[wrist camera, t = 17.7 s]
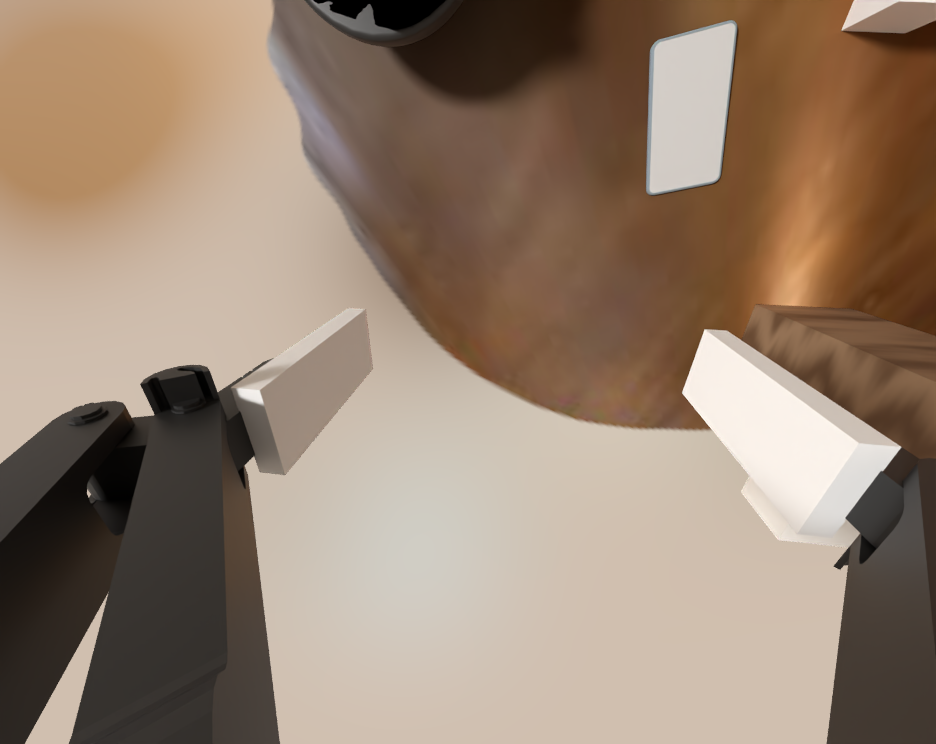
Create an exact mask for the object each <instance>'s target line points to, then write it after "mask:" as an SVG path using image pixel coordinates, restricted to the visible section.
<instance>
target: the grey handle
mask: <svg viewBox="0 0 936 744" xmlns="http://www.w3.org/2000/svg"><path fill="white" fill-rule="evenodd" d="M741 493H742V494H743V495H744V497H745V498H746V499H747V500H748V502H749V503H750V504H751V506H752V507H753V508H754V509H755V511H756V512H757V513H758V515H759V516H760V517H761V518H762V519H763V521H764V522H765V524H766V525H767V526H768V527H769V529H770V530H771V531H772V533H773V534H774V535H775V536H776V538H777V539H778V540H783V541H792V542H801V543H811V544H820V545H830V546H839V547H848V548H849V546H850V545H851V544H852V543H853V541H854V540H855V539H856V538H857V537H858V535H859V534H860V532H859V531H858V530H857V529H856V528H855V527H854V526H853V525H852V524H851V523H850V522H849V521H848V520H847V519H846V520H845V522H844V523H843V524H842V526H841V527H840V528H839V530H838V531H837V532H836V534H835V535H834V536H833V538H826V537H818V536H809V535H800V534H796V532H795V531H794V530H793V529H792V527H791V526H790V525H789V524H788V523H787V521H786V520H785V519H784V518H783V516H782V515H781V514H780V513H779V511H778V510H777V509H776V508H775V507H774V505H773V504H772V503H771V502H770V500H769V499H768V498H767V497H766V495H765V494H764V493H763V492H762V491H761V489H760V488H759V487H758V486H757V484H756V483H755V482H754V481H753V480H752V478H751V477H750V476H749V477H748V479H747V481H746V483H745V485H744V487H743V489H742V491H741Z"/></svg>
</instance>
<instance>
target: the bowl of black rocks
mask: <svg viewBox="0 0 936 744" xmlns="http://www.w3.org/2000/svg"><path fill="white" fill-rule="evenodd" d="M305 1H306V3H307V4H308V5H309V6H310V7H311V8H312V9H313V10H314V11H315V12H316V13H317V14H318V15H319V16H320V17H321V18H323V19H324V20H325V21H326V22H327V23H329V24H330V25H332V26H333V27H334V28H336V29H337V30H339V31H341V32H342V33H344V34H346V35H348V36H349V37H352V38H354V39H356V40H359V41H361V42H364V43H367V44H371V45H376V46H383V47H396V46H404V45H408V44H412V43H415V42H417V41H420V40H422V39H424V38H426V37H428V36H430V35H431V34H432V33H434V32H435V31H437V30H438V29H439V28H440V27H442V26H443V25H444V24H445V23H446V22H447V21H448V20H449V19H450V18H451V17H452V15H453V14H454V13H455V12H456V10H457V9H458V8H459V6H460V5H461V4H462V2H463V0H305Z"/></svg>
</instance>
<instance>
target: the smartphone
mask: <svg viewBox="0 0 936 744" xmlns="http://www.w3.org/2000/svg"><path fill="white" fill-rule="evenodd" d="M736 36H737V24H736V22H735V21H733V20H729V21H726V22H722V23H718V24H715V25H711V26H707V27H704V28H700V29H696V30H693V31H689V32H685V33H682V34H678V35H674V36H671V37H667V38H664V39H660V40H658V41H656V42H655V43H654V44H653V46H652V48H651V50H650V68H649V101H648V135H647V171H646V192H647V193H648V194H649V195H658V194H663V193H669V192H674V191H679V190H684V189H689V188H694V187H699V186H704V185H709V184H713V183H715V182H717V181H718V180H719V178H720V176H721V169H722V160H723V152H724V143H725V134H726V125H727V116H728V107H729V98H730V89H731V81H732V72H733V63H734V54H735V45H736Z"/></svg>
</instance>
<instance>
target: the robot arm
mask: <svg viewBox="0 0 936 744" xmlns="http://www.w3.org/2000/svg"><path fill="white" fill-rule="evenodd" d="M366 316H367V315H366V309H356V308H347V309H346V310H344V311H343V312H341V313H340V314H338V315H337V316H335V317H334V318H332V319H331V320H330V321H328V322H327V323H325V324H324V325H322V326H321V327H319V328H318V329H316V330H315V331H313V332H312V333H310V334H309V335H307V336H306V337H304V338H303V339H302V340H300V341H299V342H297V343H296V344H294V345H293V346H291V347H290V348H288V349H287V350H285V351H284V352H282V353H281V354H279V355H278V356H277V357H275V358H273V359H270V360H267V361H265V362H263V363H261V364H260V365H258V366H257V367H255V368H254V369H253V371H249V372H248V373H246V374H245V375H244V376H243V377H240V378H239V379H237V380H236V381H234V382H233V383H232V384H230V385H228V386H227V387H226V388H224V389H222V390H221V391H219V392H217V390H216V387H215V384H214V381H213V379H212V376H211V373H210V371H209V369H208V368H207V367H205V366H201V365H186V366H178V367H174V368H170V369H166V370H163V371H160V372H158V373H155V374H153V375H151V376H149V377H148V378H146V379H144V380H143V382H142V383H141V384H140V385H141V387H142V389H143V391H144V393H145V395H146V397H147V399H148V401H149V403H150V405H151V408H152V410H153V412H154V414H155V415H154V416H145V417H134V418H131V416H130V414H129V412H128V410H127V409H126V406H125V405H124V404H123V403H121V402H117V401H108V402H100V403H89V404H85V405H84V406H79V407H76V408H74V409H73V410H72V411H69V412H67V413H65V414H62V415H61V416H59V417H58V418H56V419H54V420H53V421H51V423H49V424H48V425H47V426H45V427H44V428H43V429H42V430H41V431H39V432H38V433H37V434H36V435H35V436H33V437H32V438H31V439H30V440H29V441H28V442H26V443H25V444H24V445H23V446H21V447H20V448H19V449H18V450H17V451H16V452H14V453H13V454H12V455H11V456H9V457H8V458H7V459H6V460H5V461H3V462H2V463H1V464H0V744H25V742H26V740H27V738H28V737H29V735H30V733H31V731H32V729H33V728H34V726H35V724H36V722H37V720H38V719H39V717H40V715H41V713H42V711H43V709H44V708H45V706H46V704H47V702H48V700H49V699H50V697H51V695H52V693H53V691H54V690H55V688H56V686H57V684H58V682H59V680H60V679H61V677H62V675H63V673H64V671H65V670H66V668H67V666H68V664H69V662H70V660H71V659H72V657H73V655H74V653H75V652H76V650H77V648H78V646H79V644H80V642H81V641H82V639H83V637H84V635H85V633H86V632H87V629H88V628H89V626H90V624H91V622H92V621H93V619H94V617H95V615H96V614H97V612H98V610H99V608H100V606H101V605H102V603H103V601H104V599H105V597H106V595H107V594H108V597H107V601H106V605H105V609H104V613H103V617H102V621H101V624H100V628H99V632H98V636H97V640H96V644H95V648H94V651H93V655H92V659H91V663H90V667H89V671H88V675H87V679H86V683H85V686H84V691H83V694H82V698H81V702H80V706H79V710H78V714H77V718H76V722H75V725H74V729H73V733H72V736H71V739H70V742H69V744H280V741H279V734H278V725H277V717H276V708H275V700H274V691H273V682H272V674H271V666H270V657H269V649H268V640H267V632H266V623H265V615H264V607H263V598H262V590H261V582H260V573H259V565H258V557H257V548H256V539H255V531H254V522H253V514H252V506H251V498H250V489H249V481H248V474H247V472H246V469H245V466H244V465H245V464H246V463H247V462H248V461H249V460H250V459H251V458H252V457H253V456H254V457H255V460H256V463H257V465H258V468H259V471H260V472H263V473H272V474H280V475H281V474H282V475H286V473H287V472H288V471H289V470H290V469H291V467H292V466H293V465H294V464H295V463H296V461H297V460H298V459H299V458H300V457H301V455H302V454H303V453H304V452H305V450H306V449H307V448H308V447H309V445H310V444H311V443H312V442H313V441H314V440H315V438H316V437H317V436H318V434H319V433H320V432H321V431H322V430H323V429H324V427H325V426H326V425H327V424H328V423H329V421H330V420H331V419H332V418H333V416H334V415H335V414H336V413H337V412H338V410H339V409H340V408H341V407H342V405H343V404H344V403H345V402H346V401H347V400H348V398H349V397H350V396H351V394H352V393H353V392H354V391H355V390H356V389H357V387H358V386H359V385H360V384H361V383H362V381H363V380H364V379H365V378H366V376H367V375H368V374H369V373H370V372H371V370H372V369H373V365H372V357H371V349H370V341H369V333H368V324H367V317H366ZM682 393H683V395H684V396H685V397H686V398H687V400H688V401H689V402H690V403H691V405H692V406H693V407H694V408H695V409H696V411H697V412H698V413H699V414H700V416H701V417H702V418H703V419H704V421H705V422H706V423H707V424H708V425H709V427H710V428H711V429H712V430H713V432H714V433H715V434H716V435H717V436H718V438H719V439H720V440H721V441H722V443H723V444H724V445H725V446H726V448H727V449H728V450H729V451H730V452H731V454H732V455H733V456H734V457H735V459H736V460H737V461H738V462H739V463H740V465H741V466H742V467H743V468H744V470H745V471H746V472H747V473H748V475H749V476H750V477H751V478H752V480H753V481H754V482H755V483H756V484H757V486H758V487H759V488H760V489H761V491H762V492H763V493H764V494H765V495H766V497H767V498H768V499H769V500H770V502H771V503H772V504H773V505H774V507H775V508H776V509H777V510H778V511H779V513H780V514H781V515H782V516H783V518H784V519H785V520H786V521H787V523H788V524H789V525H790V526H791V527H792V529H793V530H794V531H795V532H796V534H800V535H809V536H818V537H826V538H833V536H834V535H835V534H836V532H837V531H838V530H839V528H840V527H841V526H842V524H843V523H844V522H845V520H846V519H847V520H848V521H849V522H850V523H851V524H852V525H853V526H854V527H855V528H856V529H857V530H858V531H859V532H860V534H859V535H858V537H857V538H856V539H855V540H854V541H853V543H852V544H851V545H850V546H849V548H848V549H847V550H846V552H845V553H844V554H843V555H842V556H841V558H840V559H839V560H838V561H837V563H836V564H835V565H834V567H836V568H838V569H841V568H842V567H843V566H844V565H848V572H847V580H846V588H845V597H844V605H843V613H842V621H841V630H840V638H839V646H838V655H837V663H836V671H835V680H834V688H833V696H832V705H831V713H830V721H829V729H828V737H827V744H936V459H934V458H925V459H919V458H917V457H916V456H914V455H913V454H911V453H910V452H908V451H907V450H905V449H904V448H902V447H901V446H899V445H898V444H896V443H895V442H893V441H892V440H890V439H889V438H887V437H886V436H884V435H883V434H881V433H880V432H878V431H877V430H875V429H874V428H872V427H871V426H869V425H868V424H866V423H865V422H863V421H862V420H860V419H859V418H857V417H856V416H854V415H853V414H851V413H850V412H848V411H847V410H845V409H844V408H842V407H841V406H839V405H838V404H836V403H835V402H833V401H832V400H830V399H829V398H827V397H826V396H824V395H823V394H821V393H820V392H818V391H817V390H815V389H814V388H812V387H811V386H809V385H808V384H806V383H805V382H803V381H802V380H800V379H799V378H797V377H796V376H794V375H793V374H791V373H790V372H788V371H787V370H785V369H784V368H782V367H781V366H779V365H778V364H776V363H775V362H773V361H772V360H770V359H769V358H767V357H766V356H764V355H763V354H761V353H760V352H758V351H757V350H755V349H754V348H752V347H751V346H749V345H748V344H746V343H745V342H743V341H742V340H740V339H739V338H737V337H736V336H734V335H733V334H731V333H730V332H728V331H723V330H706V329H705V330H704V333H703V336H702V339H701V341H700V344H699V347H698V350H697V353H696V356H695V358H694V361H693V364H692V367H691V370H690V372H689V375H688V378H687V381H686V384H685V386H684V389H683V392H682ZM87 489H88V490H89V492H90V493H91V496H90V497H89V498H88V495H87ZM108 592H109V593H108Z"/></svg>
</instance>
